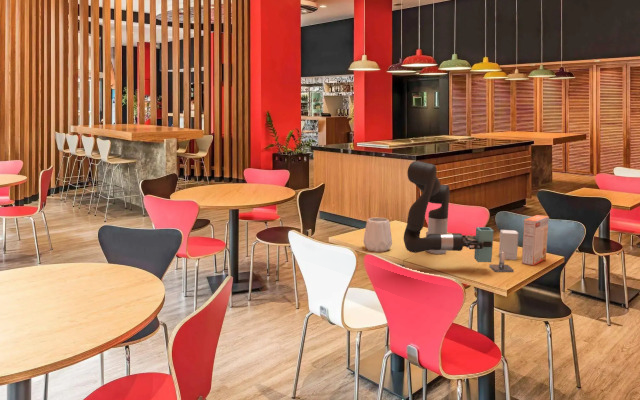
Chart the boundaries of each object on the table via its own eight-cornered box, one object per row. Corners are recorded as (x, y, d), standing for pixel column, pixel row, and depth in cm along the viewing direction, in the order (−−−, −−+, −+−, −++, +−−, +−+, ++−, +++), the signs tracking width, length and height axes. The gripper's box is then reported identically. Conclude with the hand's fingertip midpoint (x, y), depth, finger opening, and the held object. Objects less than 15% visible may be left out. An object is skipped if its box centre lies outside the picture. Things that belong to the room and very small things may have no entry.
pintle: (494, 272, 230) (496, 254, 228) (489, 266, 237) (490, 249, 236) (513, 272, 229) (514, 254, 228) (507, 266, 237) (508, 249, 236)
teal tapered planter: (477, 262, 228) (479, 230, 226) (474, 258, 234) (476, 227, 231) (491, 262, 228) (493, 230, 225) (487, 258, 234) (489, 227, 231)
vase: (368, 253, 257) (368, 222, 255) (360, 246, 271) (360, 217, 268) (395, 252, 260) (396, 221, 257) (386, 245, 274) (387, 216, 271)
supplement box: (517, 260, 248) (519, 233, 246) (500, 259, 249) (502, 232, 247) (514, 255, 255) (516, 230, 253) (498, 254, 257) (500, 229, 254)
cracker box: (533, 257, 253) (536, 214, 249) (546, 260, 248) (549, 216, 245) (520, 263, 243) (523, 218, 239) (533, 266, 239) (536, 220, 235)
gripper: (454, 237, 222) (495, 238, 222) (447, 229, 236) (485, 229, 236) (453, 255, 224) (494, 255, 223) (446, 245, 238) (484, 246, 237)
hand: (489, 242), depth 230 cm, fingers closed on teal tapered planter, 5 cm apart
